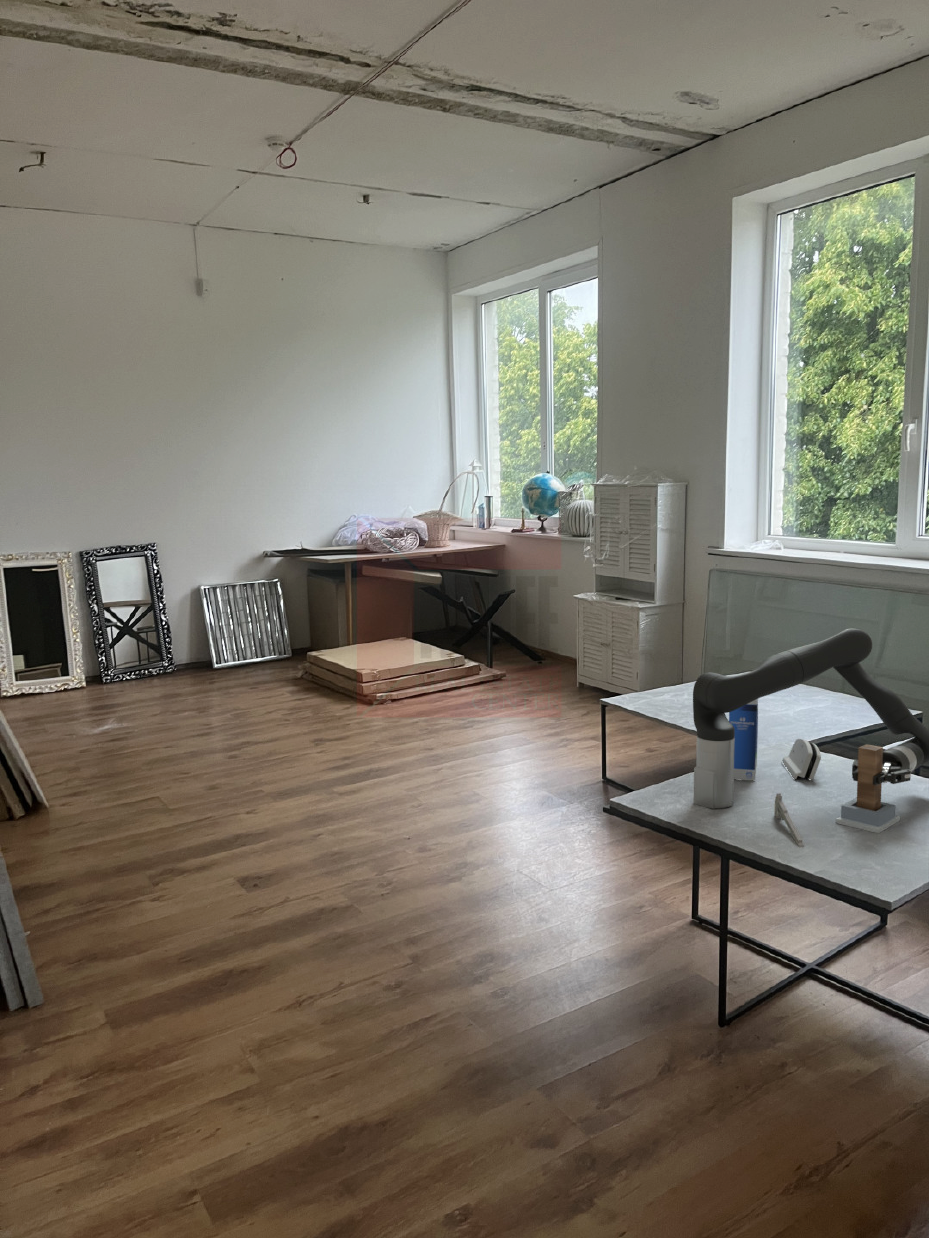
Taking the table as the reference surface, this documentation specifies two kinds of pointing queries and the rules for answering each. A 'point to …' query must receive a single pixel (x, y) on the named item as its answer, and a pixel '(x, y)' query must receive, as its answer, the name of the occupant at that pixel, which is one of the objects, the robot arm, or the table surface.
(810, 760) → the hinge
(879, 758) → the walnut rail
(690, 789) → the table surface
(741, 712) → the string lights box
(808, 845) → the table surface
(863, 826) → the base
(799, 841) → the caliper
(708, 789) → the robot arm
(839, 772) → the table surface
